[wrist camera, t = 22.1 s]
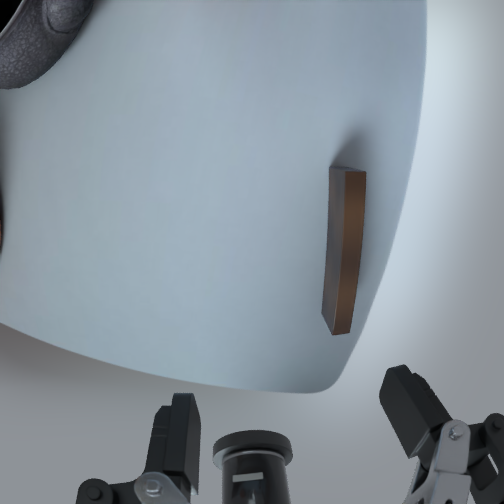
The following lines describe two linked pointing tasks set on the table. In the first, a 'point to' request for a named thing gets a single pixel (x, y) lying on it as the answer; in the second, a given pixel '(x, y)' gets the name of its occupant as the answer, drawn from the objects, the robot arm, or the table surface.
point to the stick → (343, 246)
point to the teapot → (36, 36)
